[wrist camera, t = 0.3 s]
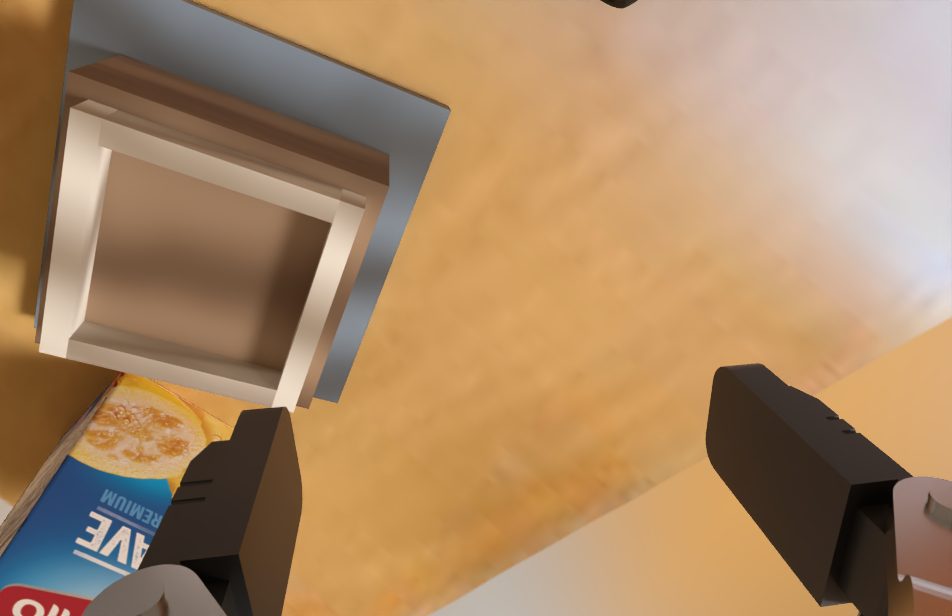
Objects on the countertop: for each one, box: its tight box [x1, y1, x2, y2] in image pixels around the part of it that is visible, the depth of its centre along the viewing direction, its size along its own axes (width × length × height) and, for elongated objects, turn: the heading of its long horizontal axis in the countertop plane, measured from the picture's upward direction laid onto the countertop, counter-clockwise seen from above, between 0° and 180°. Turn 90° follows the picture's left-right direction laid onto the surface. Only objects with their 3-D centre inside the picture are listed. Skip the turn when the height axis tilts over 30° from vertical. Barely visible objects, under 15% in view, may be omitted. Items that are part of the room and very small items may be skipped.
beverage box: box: [0, 372, 234, 616], centre depth 28 cm, size 7×11×22 cm, turn 44°
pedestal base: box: [34, 0, 451, 413], centre depth 28 cm, size 18×16×8 cm
